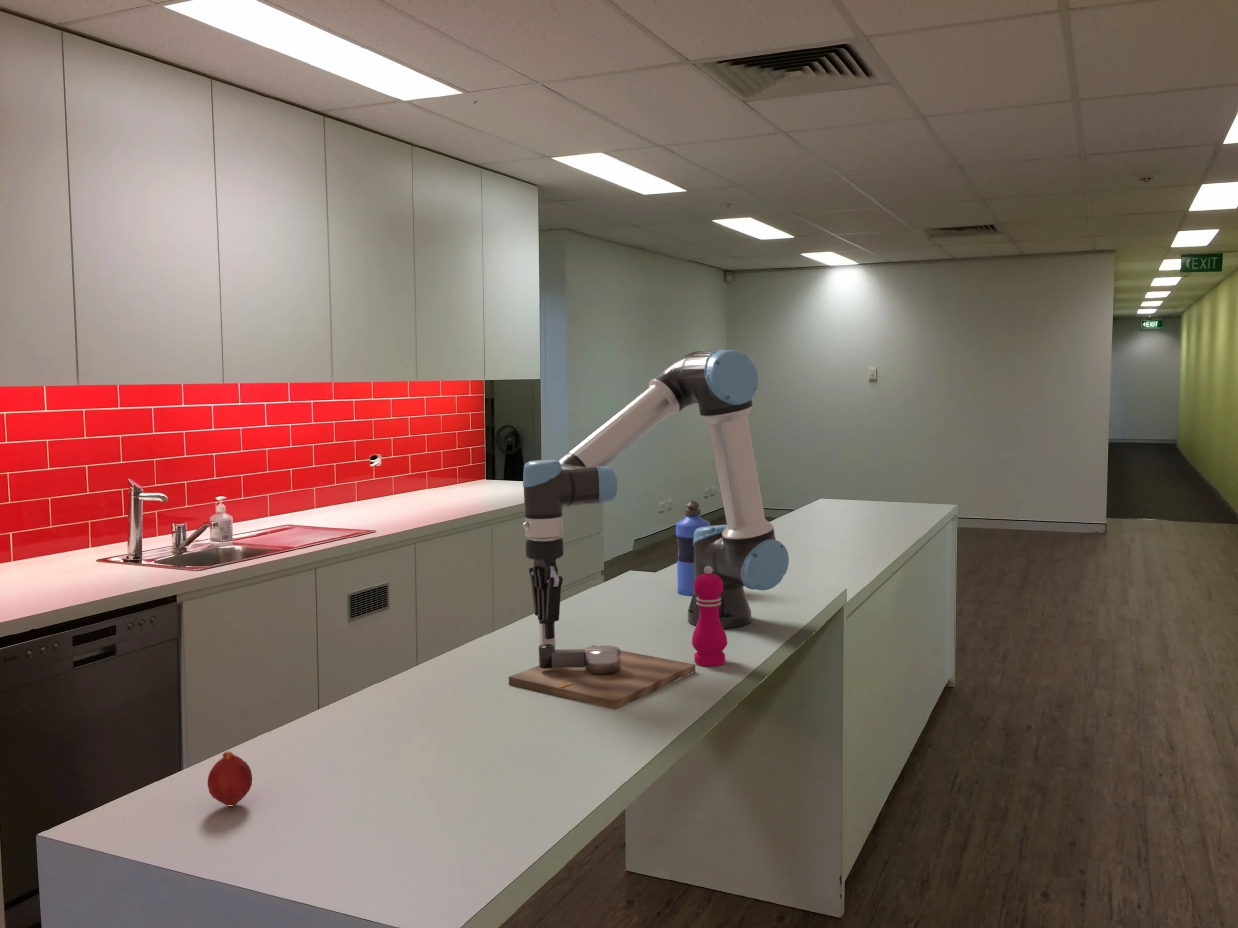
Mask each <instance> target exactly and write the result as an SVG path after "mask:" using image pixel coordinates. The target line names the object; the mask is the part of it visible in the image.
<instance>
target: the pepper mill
mask: <svg viewBox="0 0 1238 928" xmlns="http://www.w3.org/2000/svg"><path fill="white" fill-rule="evenodd" d="M712 571H713V570H712V567H710V566H706V567H705V568H704V573H705V574H701V575H699V576H698V577H697V578H696V580H695V582H694V591H695V592H696V594H697V595H698V597H697V598H696V599H697V605H699V620H698V623H697V625H695V628H694V631H693V633H692V637H691V638H692V639H691V645H692V647H693V649H694V650H695V651H696V652H695V653H694V654H693V655H694V656H693V657H694V659H693V660H694V664H695V663H696V664H695V665H697V666H700V667H706V666H709V668H712V666H714V667H720V666H722V665H725V663H726V654H725V652H723V651H724V650H725V649H726V648H727V645H728V637H727V634H726V631H725V628H723V627H722V624H721V622H720V619H719V605H720V604H721V597H719V595H720V594H721V593H722V591H723V582H722V580H721V578H720V577H719V576H718V575H716V574H712Z"/></svg>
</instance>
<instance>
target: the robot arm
mask: <svg viewBox="0 0 1238 928" xmlns="http://www.w3.org/2000/svg"><path fill="white" fill-rule="evenodd" d="M758 386H759V373H758V369H757V367H756V365H755V363H754V362H753V360H752V359H751V358H750V357H749V356H748V355H746V353H744V352H741V351H739V350H736V349H727V348H721V349H713V350H712V349H711V350H702V351H701V350H698V351H697V350H696V351H692V352H690V353H687V354H685V355H682V356H681V357H679V358H678V359H676V360H674V362H672V363H671V364H669V366H667V367H666V368H665V369H663V370H662V371H660V372H659V374H657V375H656V376H654V377H653V378H652V379H651V380H650V381H649V383H648V388H647V389H646V390H645V391H643V392H642V393H640V395H638V396H637V397H636V398H635V399H633V400H632V401H631V402H630V403H628V404H627V405H626V406H625V407H624V408H622V409H621V410H620V411H618V412H617V413H616V414H614V415H613V416H612V417H611V418H610V419H608V420H607V421H606V422H604V424H603V425H601V426H600V427H599V428H597V429H596V430H595V431H594V432H592V434H590V435H589V436H587V438H585V439H584V440H583V441H581V442H580V443H579V444H578V445H577V446H575V447H574V448H573V449H572V450H570V451H569V452H568V453H566V454H565V455H564V456H562V457H561V458H560V459H559V460H556V459H539V460H538V459H537V460H529V461H528V462H526V463H524V465H523V474H522V475H523V476H522V477H523V478H522V480H523V481H522V482H523V483H522V487H523V499H524V500H523V503H524V504H523V505H524V521H525V522H524V523H523V524H522V527H523V528H525V529H524V531H525V537H526V538H527V539H526V540H525V556H526V558H527V559H529V560H533V566H532V567H529V568H528V572H529V576H530V582H531V592H532V599H533V610H534V615H535V617H536V616H537V620H538V622H539V623H538V624H539V646H540V645H543V644H552V645H554V650H556V629H555V627H556V626H555V625H556V624H555V623H556V622H559V620H560V610H561V593H562V585H563V579H564V578H563V576H562V575H561V576H560V575H559V573H558V572H559V571H558V570H559V569H558V566H557V561H556V560H557V559H561V558H562V557H563V556H564V539H563V538H562V536H563V535H564V519H563V518H564V515H563V507H570V506H582V505H594V504H595V505H596V504H598V505H601V504H603V503H610V502H612V501H613V500H614V499H615V498H616V497H617V494H618V479H617V475H616V472H615V471H614V469H613V468H611V467H610V466H608V465H610V464H611V463H613V461H614V460H616V459H617V458H618V457H620V455H622V454H623V453H624V452H625V451H626V450H628V449H629V448H630V447H631V446H633V444H635V443H636V442H637V441H639V440H640V439H641V438H642V437H644V436H645V435H646V434H647V433H648V432H650V431H651V430H652V429H654V427H655V426H657V425H658V424H659V423H660V422H662V421H663V420H664V419H666V417H668V416H669V415H674V416H675V415H677V414H678V413H680V412H681V411H682V410H684V409H685V408H687V407H689V406H692V405H695V404H697V405H698V409H699V415H700V417H701V418H702V419H703V420H705V421H707V423H708V426H709V431H710V436H711V443H712V447H713V448H712V449H713V453H714V454H713V455H714V460H715V465H716V470H717V477H718V482H719V488H720V493H721V500H722V503H723V509H724V510H723V511H724V515H725V521H726V522H725V523H726V524H718V525H710V526H706V527H700V528H697V529H696V530H695V532H694V539H693V545H694V582H695V580H696V578H697V577H698V576H699V575H701V574H705V573H704V568H705V567H706V566H710V567H712V570H713V571H712V574H716V575H718V576H719V577H720V578H721V580H722V582H723V591H722V593H721V594H720V595H719V597H721V604H720V605H719V619H720V622H721V624H722V627H723V629H730V628H737V627H738V628H739V627H743V626H747V625H748V624H750V623H751V622H752V610H751V607H750V605H749V602H748V597H747V596H746V592H745V589H744V587H745V588H747V589H749V590H754V591H755V590H756V591H768V590H772V589H773V588H775V587H776V586H778V585H779V584H780V583H781V582H782V580H783V578H784V576H785V575H786V574H787V572H788V569H789V563H790V556H789V552H788V549H787V548H786V546H785V545H784V544H783V543H782V542H781V541H779V540H776V535H775V528H774V525H773V524H772V523H771V522H770V521H768V520H767V519H766V517H765V516H766V515H765V512H764V511H765V510H764V505H763V499H762V494H761V489H760V488H761V486H760V481H759V476H758V475H759V474H758V470H757V469H758V468H757V464H756V460H755V459H756V457H755V453H754V447H753V441H752V435H751V429H750V424H749V419H748V418H749V417H748V415H749V413H750V411H751V410H752V409H753V407H754V406H753V400H752V398H753V397H754V396H755V395H756V390H757V389H758V388H759V387H758ZM558 575H559V576H558ZM697 597H698V595H697V594H696V592H695V591H694V593H693V596H691V599H690V603H689V605H688V606H689V607H688V609H687V622H688V624H689V623H690V624H691V625H694V626H696V625H697V623H698V620H699V605H697V599H696V598H697Z"/></svg>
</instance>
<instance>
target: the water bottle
mask: <svg viewBox="0 0 1238 928" xmlns="http://www.w3.org/2000/svg"><path fill="white" fill-rule="evenodd" d="M700 506H701V505H700V503H699V502H697V501H696V500H689V501H688V502H687V503H686V504H685V507H686V508H685V509H684V515H685V517H684V518H682V519H680V520H679V521H677V522H676V523H675V536H676V542H677V547H678V550H677V551H678V552H677V553H678V554H677V559H676V561H677V562H676V563H677V564H676V565H677V567H676V569H677V570H676V571H677V573H676V575H677V579H676V580H677V594H678V595H681V596H687V597H692V596H693V593H694V545H693V539H694V532H695V530H696V529H697V528H700V527H706V526H711V522H710V521H707V520H706V519H703V518H702V517H701V514H702V513H701V511H702V510H701V508H699V507H700Z"/></svg>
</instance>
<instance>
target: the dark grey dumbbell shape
mask: <svg viewBox="0 0 1238 928" xmlns="http://www.w3.org/2000/svg"><path fill="white" fill-rule="evenodd" d="M589 647H590V646H589ZM586 648H587V647H586ZM620 650H621V648H620V647H618V646H613V645H594V647H590V648H587V649H584V648H581V649H580V648H579V649H577V648H576V649H555V650H554V645H552V644H543V645H540V644H539V646H538V666H539V667H540V668H545V669H547V668H566V667H585V670H586V671H588V672H591V673H612V672H616V671H618V670H620V669H621V652H620Z"/></svg>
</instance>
